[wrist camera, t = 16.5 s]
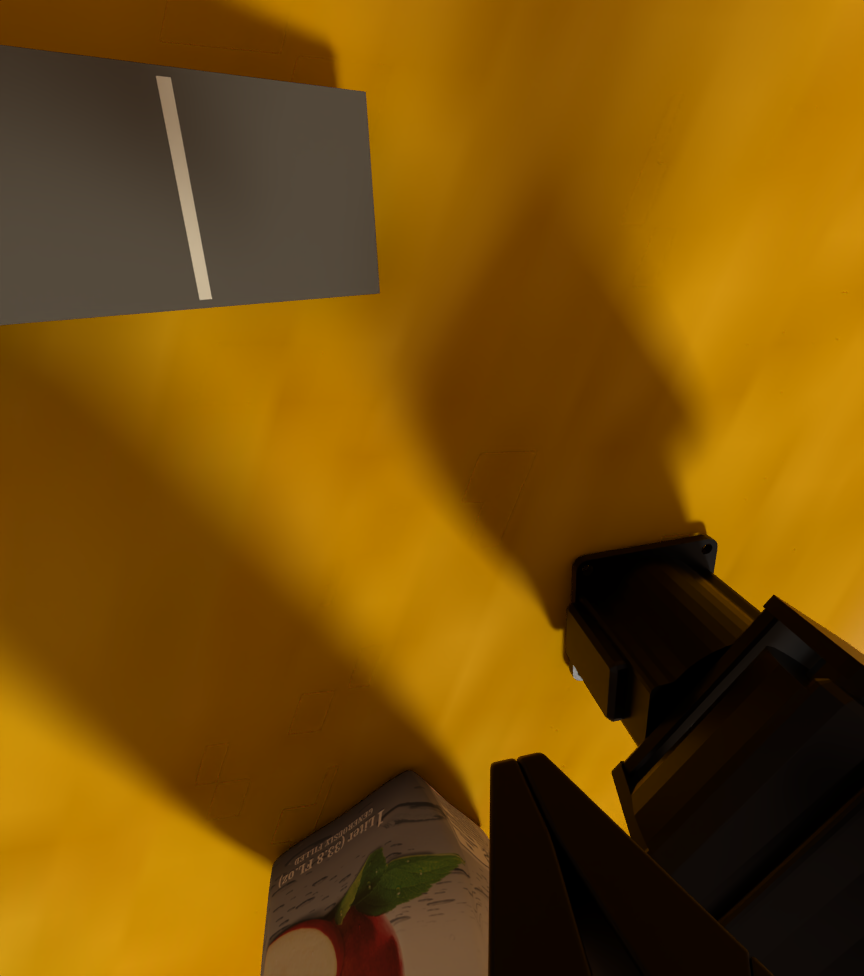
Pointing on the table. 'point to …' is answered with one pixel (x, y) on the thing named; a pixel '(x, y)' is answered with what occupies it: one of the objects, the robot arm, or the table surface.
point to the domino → (176, 189)
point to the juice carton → (383, 892)
